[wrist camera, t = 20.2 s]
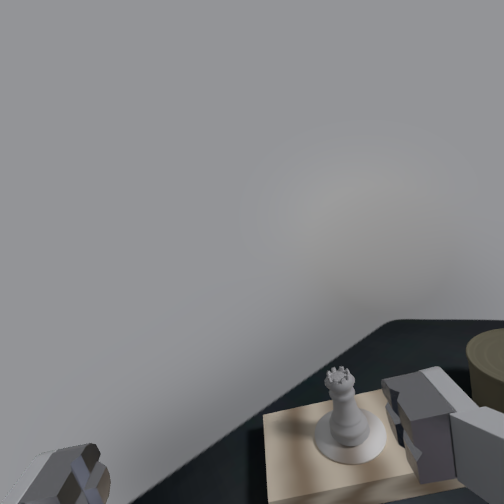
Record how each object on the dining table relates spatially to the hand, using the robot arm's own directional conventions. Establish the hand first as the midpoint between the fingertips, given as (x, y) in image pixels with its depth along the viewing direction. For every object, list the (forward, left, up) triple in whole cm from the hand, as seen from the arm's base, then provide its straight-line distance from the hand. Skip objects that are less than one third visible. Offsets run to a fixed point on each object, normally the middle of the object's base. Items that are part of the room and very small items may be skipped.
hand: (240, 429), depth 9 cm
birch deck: (+6, +24, -28) cm, 37 cm away
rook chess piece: (+6, +24, -25) cm, 35 cm away
